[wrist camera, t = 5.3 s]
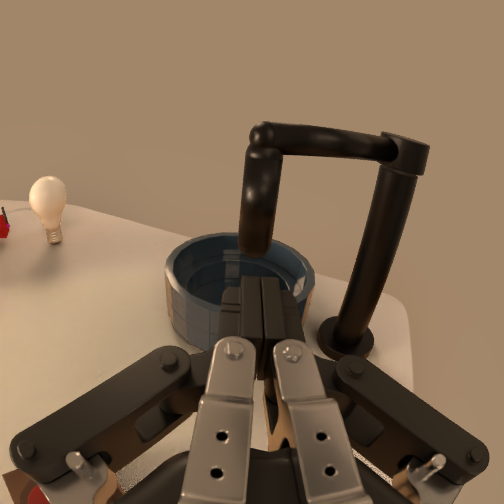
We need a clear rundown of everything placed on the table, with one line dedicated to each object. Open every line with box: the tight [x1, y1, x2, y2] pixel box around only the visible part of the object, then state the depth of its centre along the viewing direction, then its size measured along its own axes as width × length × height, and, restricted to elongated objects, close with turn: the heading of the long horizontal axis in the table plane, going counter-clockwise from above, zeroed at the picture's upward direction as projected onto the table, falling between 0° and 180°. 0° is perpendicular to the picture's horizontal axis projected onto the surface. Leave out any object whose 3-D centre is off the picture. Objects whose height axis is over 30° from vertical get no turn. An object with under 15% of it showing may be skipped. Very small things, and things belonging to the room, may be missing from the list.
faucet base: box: [317, 165, 418, 361], centre depth 25 cm, size 6×6×18 cm
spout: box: [238, 121, 430, 259], centre depth 19 cm, size 15×4×8 cm, turn 116°
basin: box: [165, 233, 315, 351], centre depth 31 cm, size 15×15×6 cm
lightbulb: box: [29, 176, 67, 244], centre depth 38 cm, size 6×6×11 cm
